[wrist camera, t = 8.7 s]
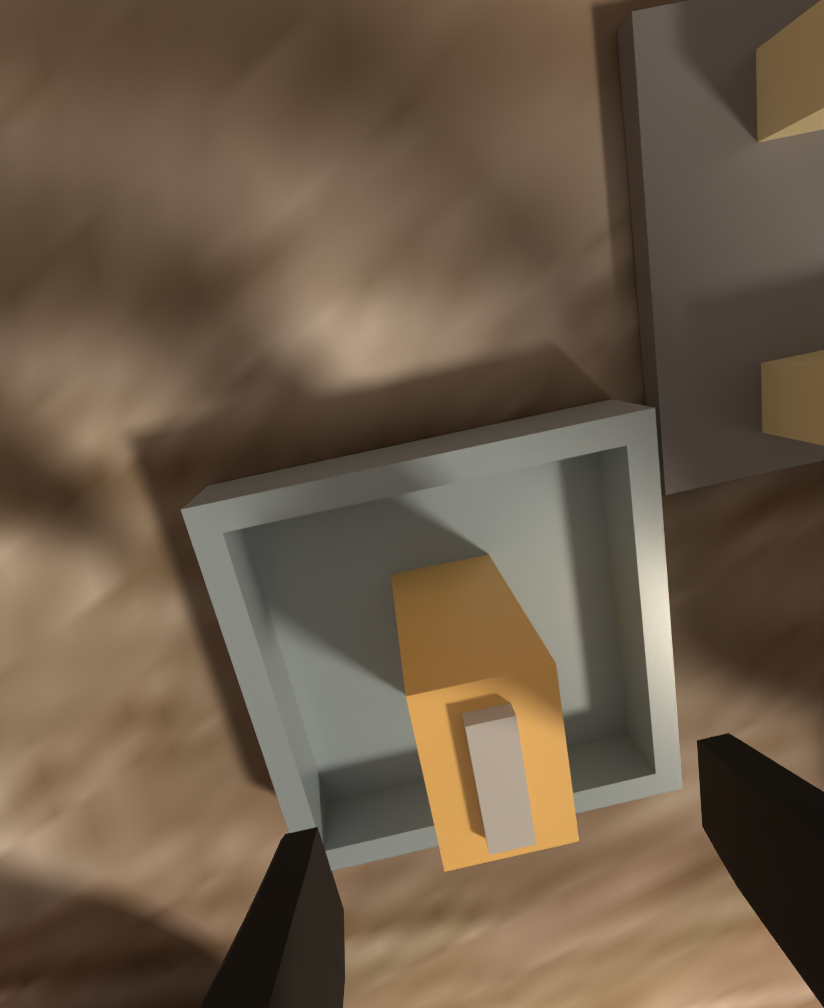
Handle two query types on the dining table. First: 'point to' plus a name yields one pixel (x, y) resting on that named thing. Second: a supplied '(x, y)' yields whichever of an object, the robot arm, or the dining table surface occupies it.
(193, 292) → the dining table surface
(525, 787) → the block
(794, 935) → the robot arm
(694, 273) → the panel
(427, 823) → the parts tray
